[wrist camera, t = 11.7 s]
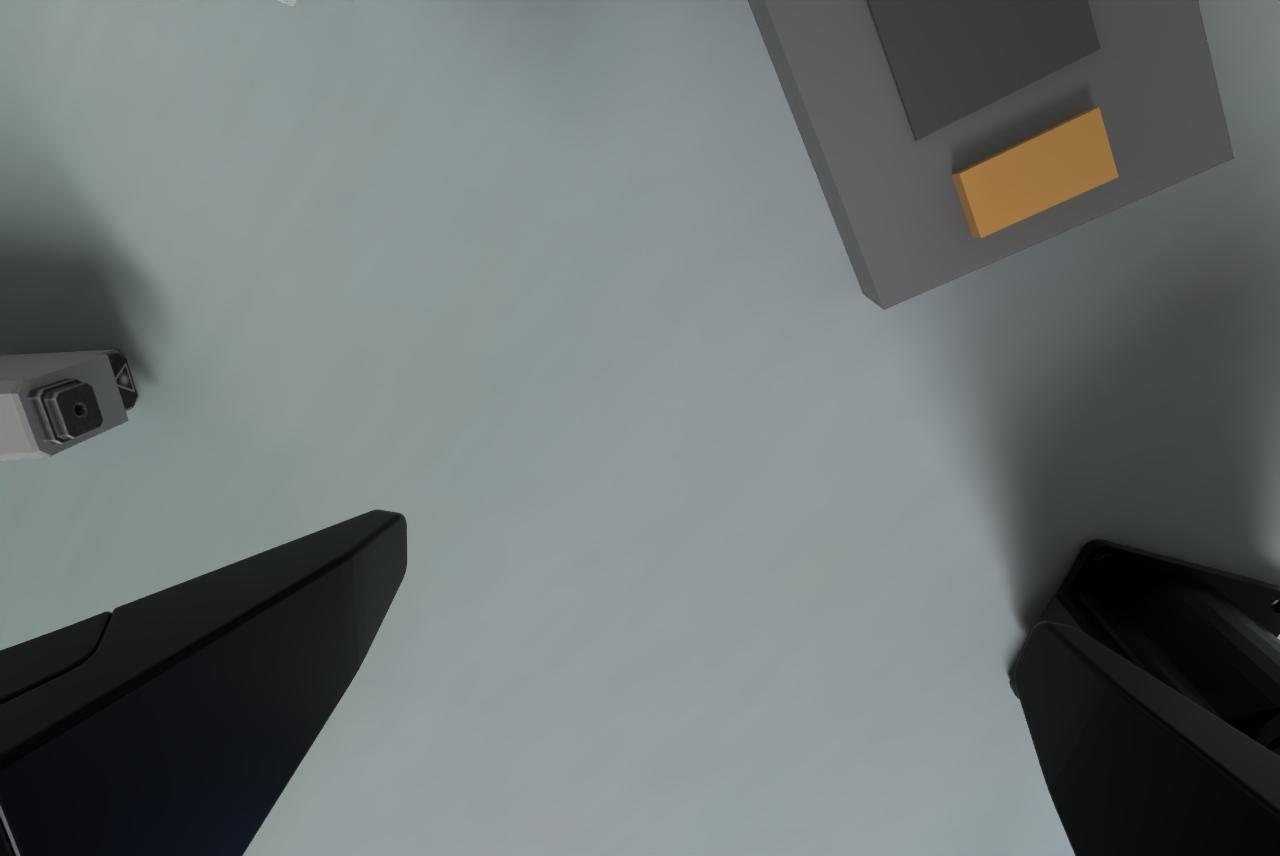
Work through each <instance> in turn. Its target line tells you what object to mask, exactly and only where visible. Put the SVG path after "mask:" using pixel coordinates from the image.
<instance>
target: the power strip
mask: <svg viewBox="0 0 1280 856" xmlns="http://www.w3.org/2000/svg"><path fill="white" fill-rule="evenodd" d="M748 2H749V4H750V7H751V9H752V12H753V15H754V17H755V20H756V22H757V25H758V27H759V30H760V32H761V35H762V37H763V40H764V43H765V45H766V48H767V50H768V53H769V55H770V58H771V60H772V63H773V65H774V68H775V71H776V73H777V76H778V78H779V81H780V83H781V86H782V88H783V91H784V93H785V96H786V99H787V101H788V104H789V106H790V109H791V111H792V114H793V116H794V119H795V121H796V124H797V127H798V129H799V132H800V134H801V137H802V139H803V142H804V144H805V147H806V149H807V152H808V155H809V157H810V160H811V162H812V165H813V167H814V170H815V172H816V175H817V177H818V180H819V183H820V185H821V188H822V190H823V193H824V195H825V198H826V200H827V203H828V205H829V208H830V211H831V213H832V216H833V218H834V221H835V223H836V226H837V228H838V231H839V233H840V236H841V239H842V241H843V244H844V246H845V249H846V251H847V254H848V256H849V259H850V261H851V264H852V267H853V269H854V272H855V274H856V277H857V279H858V282H859V284H860V287H861V289H862V292H863V294H864V295H865V296H866V297H868V298H869V299H870V300H872V301H873V302H874V303H876V304H877V305H878V306H880V307H881V308H882V309H887V308H889V307H891V306H894V305H896V304H898V303H901V302H903V301H905V300H907V299H910V298H912V297H914V296H917V295H919V294H921V293H924V292H926V291H928V290H931V289H933V288H935V287H938V286H940V285H942V284H944V283H947V282H949V281H951V280H954V279H956V278H958V277H961V276H963V275H965V274H968V273H970V272H972V271H974V270H977V269H979V268H981V267H984V266H986V265H988V264H991V263H993V262H995V261H998V260H1000V259H1002V258H1005V257H1007V256H1009V255H1011V254H1014V253H1016V252H1018V251H1021V250H1023V249H1025V248H1028V247H1030V246H1032V245H1035V244H1037V243H1039V242H1042V241H1044V240H1046V239H1048V238H1051V237H1053V236H1055V235H1058V234H1060V233H1062V232H1065V231H1067V230H1069V229H1072V228H1074V227H1076V226H1079V225H1081V224H1083V223H1085V222H1088V221H1090V220H1092V219H1095V218H1097V217H1099V216H1102V215H1104V214H1106V213H1109V212H1111V211H1113V210H1115V209H1118V208H1120V207H1122V206H1125V205H1127V204H1129V203H1132V202H1134V201H1136V200H1139V199H1141V198H1143V197H1146V196H1148V195H1150V194H1152V193H1155V192H1157V191H1159V190H1162V189H1164V188H1166V187H1169V186H1171V185H1173V184H1176V183H1178V182H1180V181H1183V180H1185V179H1187V178H1189V177H1192V176H1194V175H1196V174H1199V173H1201V172H1203V171H1206V170H1208V169H1210V168H1213V167H1215V166H1217V165H1219V164H1222V163H1224V162H1226V161H1229V160H1231V159H1233V158H1234V156H1233V152H1232V147H1231V143H1230V139H1229V134H1228V130H1227V126H1226V121H1225V117H1224V113H1223V108H1222V104H1221V99H1220V95H1219V91H1218V86H1217V82H1216V78H1215V73H1214V69H1213V65H1212V60H1211V56H1210V52H1209V47H1208V43H1207V39H1206V34H1205V30H1204V25H1203V21H1202V17H1201V12H1200V8H1199V4H1198V0H748Z"/></svg>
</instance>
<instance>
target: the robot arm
mask: <svg viewBox="0 0 1280 856" xmlns="http://www.w3.org/2000/svg"><path fill="white" fill-rule="evenodd" d="M1100 553H1105V556H1104V557H1103V558H1102V559H1099V560H1095V557H1096V556H1097V555H1098V554H1100ZM406 568H407V523H406V519H405V517H404V516H403V515H402V514H401V513H396V512H390V511H384V510H372V511H370V512H367V513H365V514H362V515H359V516H357V517H354V518H351V519H349V520H346V521H344V522H341V523H338V524H336V525H333V526H330V527H328V528H325V529H322V530H320V531H317V532H315V533H312V534H309V535H307V536H304V537H301V538H299V539H296V540H294V541H291V542H288V543H286V544H283V545H280V546H278V547H275V548H272V549H270V550H267V551H265V552H262V553H259V554H257V555H254V556H251V557H249V558H246V559H244V560H241V561H238V562H236V563H233V564H230V565H228V566H225V567H222V568H220V569H217V570H215V571H212V572H209V573H207V574H204V575H201V576H199V577H196V578H194V579H191V580H188V581H186V582H183V583H180V584H178V585H175V586H172V587H170V588H167V589H165V590H162V591H159V592H157V593H154V594H151V595H149V596H146V597H144V598H141V599H138V600H136V601H133V602H130V603H128V604H125V605H122V606H120V607H117V608H115V609H114V610H113V612H112V613H111V612H104V613H101V614H98V615H96V616H93V617H91V618H88V619H85V620H83V621H80V622H78V623H75V624H72V625H70V626H67V627H64V628H62V629H59V630H56V631H53V632H51V633H48V634H45V635H42V636H40V637H37V638H34V639H31V640H29V641H26V642H23V643H20V644H18V645H15V646H12V647H9V648H6V649H3V650H0V856H242V855H243V854H244V852H245V851H246V849H247V848H248V846H249V844H250V843H251V841H252V840H253V838H254V836H255V835H256V833H257V832H258V830H259V828H260V827H261V825H262V824H263V822H264V820H265V819H266V817H267V816H268V814H269V812H270V811H271V809H272V808H273V806H274V805H275V803H276V801H277V800H278V798H279V797H280V795H281V793H282V792H283V790H284V789H285V787H286V785H287V784H288V782H289V781H290V779H291V777H292V776H293V774H294V773H295V771H296V769H297V768H298V766H299V765H300V763H301V762H302V760H303V758H304V757H305V755H306V754H307V752H308V750H309V749H310V747H311V746H312V744H313V742H314V741H315V739H316V738H317V736H318V734H319V733H320V731H321V730H322V728H323V727H324V725H325V723H326V722H327V720H328V719H329V717H330V715H331V714H332V712H333V711H334V709H335V707H336V706H337V704H338V703H339V701H340V699H341V698H342V696H343V695H344V693H345V691H346V690H347V688H348V687H349V685H350V683H351V682H352V680H353V678H354V677H355V675H356V673H357V672H358V670H359V668H360V666H361V664H362V662H363V660H364V658H365V657H366V655H367V653H368V651H369V648H370V646H371V644H372V642H373V640H374V638H375V636H376V634H377V632H378V630H379V628H380V626H381V624H382V622H383V619H384V617H385V615H386V613H387V611H388V609H389V607H390V605H391V603H392V601H393V599H394V597H395V595H396V593H397V590H398V588H399V586H400V584H401V582H402V580H403V578H404V575H405V572H406ZM1276 600H1279V601H1278V602H1277V603H1276V604H1273V605H1271V604H1272V603H1273V602H1274V601H1276ZM1279 634H1280V586H1278V585H1274V584H1270V583H1266V582H1263V581H1259V580H1255V579H1251V578H1247V577H1243V576H1239V575H1236V574H1232V573H1228V572H1224V571H1220V570H1216V569H1213V568H1209V567H1205V566H1201V565H1197V564H1193V563H1189V562H1186V561H1182V560H1178V559H1174V558H1170V557H1166V556H1162V555H1159V554H1155V553H1151V552H1147V551H1143V550H1139V549H1136V548H1132V547H1128V546H1124V545H1120V544H1116V543H1112V542H1109V541H1105V540H1094V541H1090V542H1089V543H1087V544H1085V545H1084V547H1083V548H1082V549H1081V551H1080V552H1079V554H1078V556H1077V558H1076V560H1075V562H1074V563H1073V565H1072V567H1071V569H1070V571H1069V573H1068V574H1067V576H1066V578H1065V580H1064V582H1063V583H1062V585H1061V587H1060V589H1059V591H1058V593H1057V594H1055V595H1054V596H1053V597H1052V599H1051V601H1050V603H1049V605H1048V606H1047V608H1046V610H1045V612H1044V614H1043V616H1042V617H1041V619H1040V621H1039V623H1037V624H1036V625H1035V626H1034V628H1033V629H1032V631H1031V633H1030V635H1029V637H1028V640H1027V642H1026V644H1025V646H1024V648H1023V650H1022V652H1021V654H1020V656H1019V658H1018V660H1017V663H1016V665H1015V670H1014V673H1013V675H1012V676H1011V678H1010V682H1009V683H1010V687H1011V689H1012V690H1013V692H1014V694H1015V695H1016V696H1017V698H1019V699H1020V702H1021V705H1022V708H1023V711H1024V715H1025V718H1026V721H1027V724H1028V728H1029V731H1030V734H1031V737H1032V740H1033V744H1034V747H1035V750H1036V753H1037V757H1038V760H1039V763H1040V766H1041V769H1042V773H1043V776H1044V778H1045V781H1046V784H1047V787H1048V790H1049V793H1050V795H1051V798H1052V800H1053V803H1054V806H1055V808H1056V811H1057V813H1058V815H1059V818H1060V820H1061V823H1062V825H1063V827H1064V830H1065V832H1066V834H1067V837H1068V839H1069V842H1070V844H1071V846H1072V849H1073V851H1074V853H1075V856H1280V640H1279V639H1278V638H1277V637H1278V635H1279Z"/></svg>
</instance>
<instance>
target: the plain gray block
mask: <svg viewBox="0 0 1280 856" xmlns="http://www.w3.org/2000/svg"><path fill="white" fill-rule="evenodd" d="M279 1H281V2H283V3H286V4H288V5H290V6H292V7H293V5H294V4H295V2H296V1H297V0H279ZM350 1H351V0H350Z"/></svg>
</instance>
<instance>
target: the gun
mask: <svg viewBox="0 0 1280 856" xmlns="http://www.w3.org/2000/svg"><path fill="white" fill-rule="evenodd" d="M136 399H137V392H136V389H135V386H134V382H133V379H132V376H131V373H130V370H129V366H128V363H127V360H126V358H124V357H123V356H122V354H120V353H119V352H118V351H116V350H115V349H113V350H94V351H74V352H55V353H35V354H16V355H0V461H7V460H24V459H40V458H48V457H50V456H52V455H54V454H56V453H59V452H61V451H63V450H65V449H67V448H70V447H72V446H74V445H76V444H78V443H81V442H83V441H85V440H87V439H89V438H92V437H94V436H96V435H98V434H100V433H103V432H105V431H107V430H109V429H111V428H114V427H116V426H118V425H120V424H122V423H125V422H127V421H128V417H127V414H126V411H127V410H129V409H132V408H133V407H134V405H135V402H136Z"/></svg>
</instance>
